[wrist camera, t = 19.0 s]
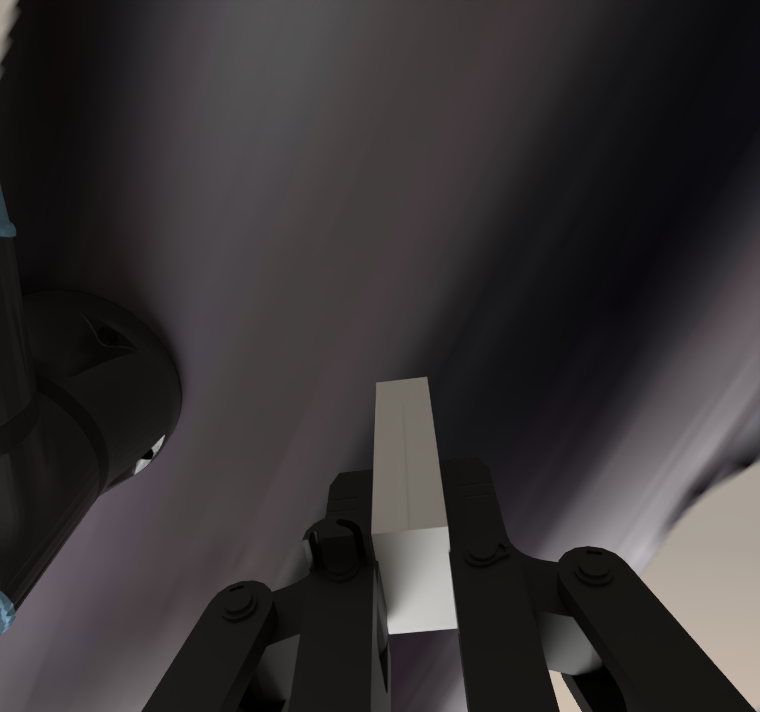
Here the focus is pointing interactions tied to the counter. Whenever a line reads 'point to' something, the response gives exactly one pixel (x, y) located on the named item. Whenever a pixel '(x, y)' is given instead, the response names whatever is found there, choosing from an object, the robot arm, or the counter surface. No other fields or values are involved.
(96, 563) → the counter surface
